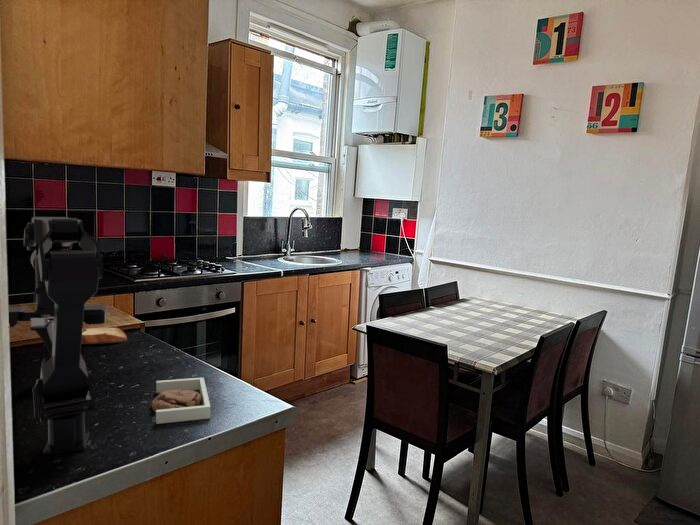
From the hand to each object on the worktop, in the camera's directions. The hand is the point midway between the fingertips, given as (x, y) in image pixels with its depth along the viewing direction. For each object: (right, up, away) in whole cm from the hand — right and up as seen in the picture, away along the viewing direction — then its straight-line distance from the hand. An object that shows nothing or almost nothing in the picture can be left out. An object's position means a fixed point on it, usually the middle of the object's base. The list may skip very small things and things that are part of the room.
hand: (54, 357), depth 101 cm
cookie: (+22, -13, +9) cm, 26 cm away
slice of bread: (-19, -5, +50) cm, 54 cm away
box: (+22, -12, +9) cm, 27 cm away
